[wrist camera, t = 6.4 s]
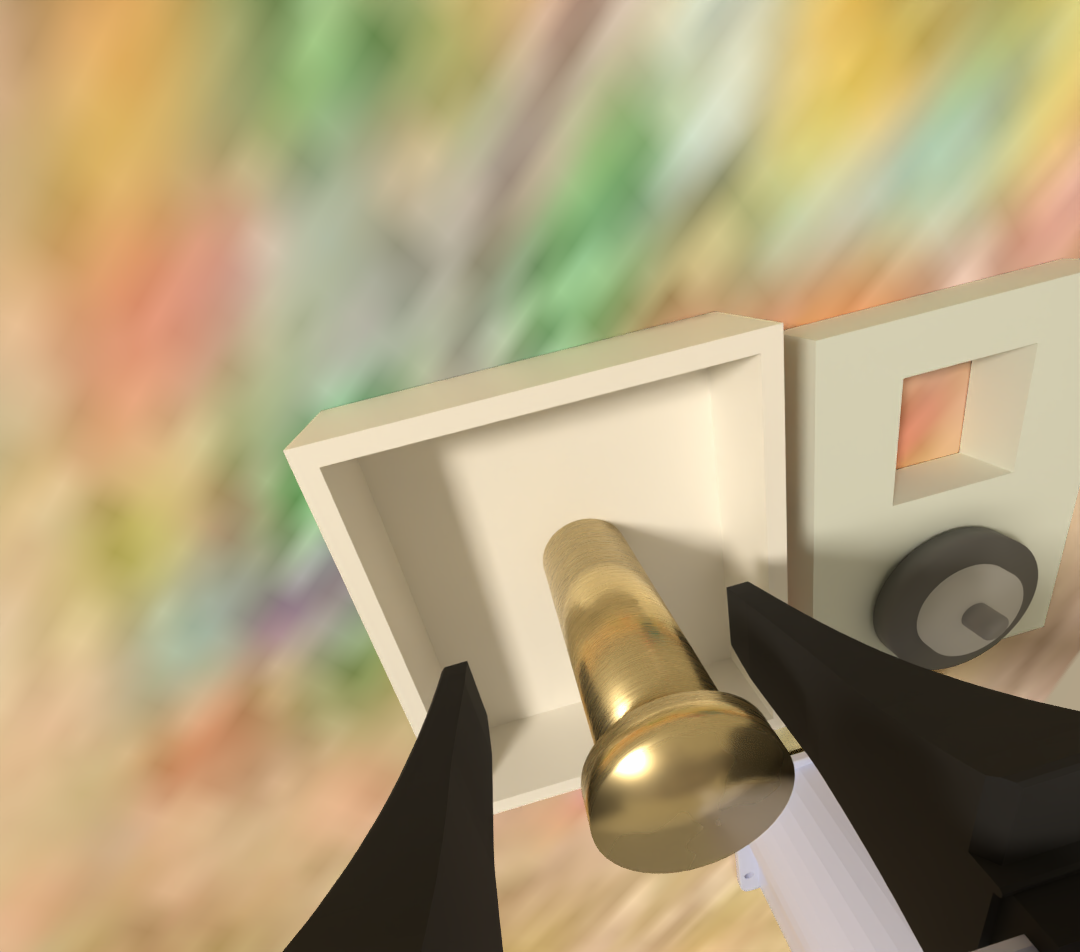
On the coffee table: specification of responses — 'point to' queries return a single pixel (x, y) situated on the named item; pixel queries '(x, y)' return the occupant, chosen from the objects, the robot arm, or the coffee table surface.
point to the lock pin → (656, 718)
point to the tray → (555, 517)
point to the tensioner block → (935, 466)
